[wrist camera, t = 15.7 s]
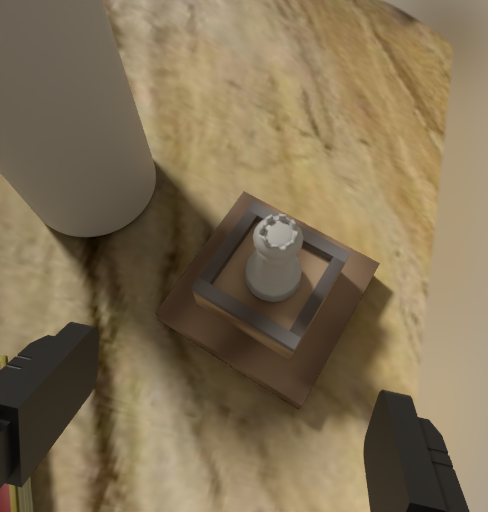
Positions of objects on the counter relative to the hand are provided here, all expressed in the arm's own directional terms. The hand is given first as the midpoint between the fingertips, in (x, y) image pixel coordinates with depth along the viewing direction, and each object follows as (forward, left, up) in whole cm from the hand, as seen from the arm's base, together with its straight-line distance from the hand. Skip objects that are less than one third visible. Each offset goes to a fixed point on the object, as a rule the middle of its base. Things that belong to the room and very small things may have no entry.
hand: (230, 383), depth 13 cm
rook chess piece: (-4, +11, -20) cm, 23 cm away
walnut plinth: (-4, +11, -26) cm, 28 cm away
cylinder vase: (-25, +12, -26) cm, 38 cm away
